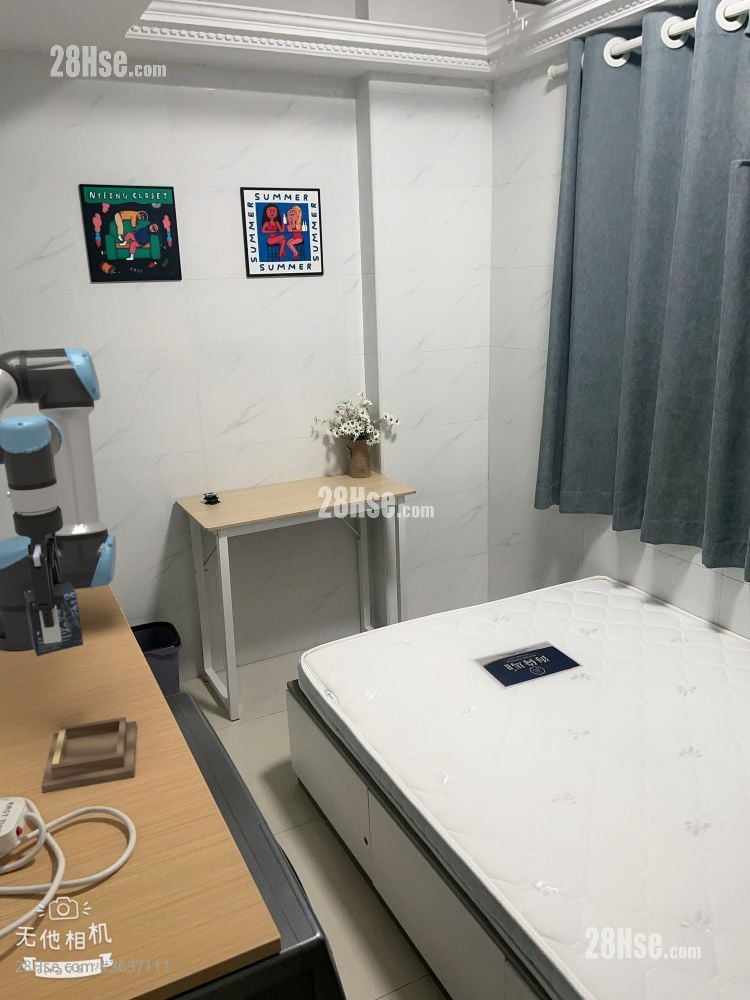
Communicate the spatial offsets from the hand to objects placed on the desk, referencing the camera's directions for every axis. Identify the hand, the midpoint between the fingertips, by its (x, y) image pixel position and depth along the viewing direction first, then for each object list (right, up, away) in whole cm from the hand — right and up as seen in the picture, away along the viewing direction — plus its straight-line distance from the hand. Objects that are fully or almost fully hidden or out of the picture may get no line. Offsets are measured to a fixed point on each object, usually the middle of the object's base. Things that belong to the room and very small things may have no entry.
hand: (55, 631), depth 133 cm
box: (0, -3, +1) cm, 3 cm away
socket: (+8, -21, -5) cm, 23 cm away
